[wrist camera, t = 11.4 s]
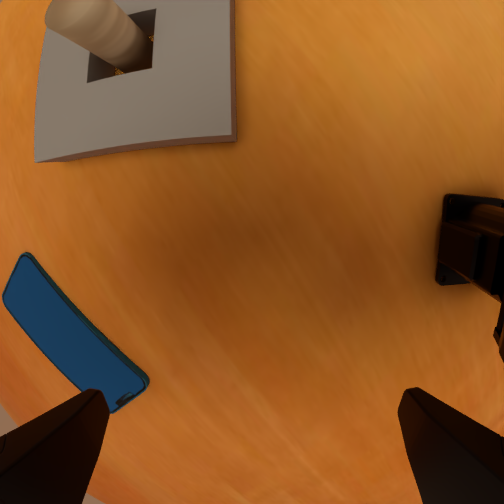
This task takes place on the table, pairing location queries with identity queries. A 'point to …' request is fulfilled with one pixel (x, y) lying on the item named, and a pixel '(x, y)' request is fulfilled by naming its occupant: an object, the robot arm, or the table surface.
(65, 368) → the smartphone
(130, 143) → the socket block
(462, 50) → the table surface
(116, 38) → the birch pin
